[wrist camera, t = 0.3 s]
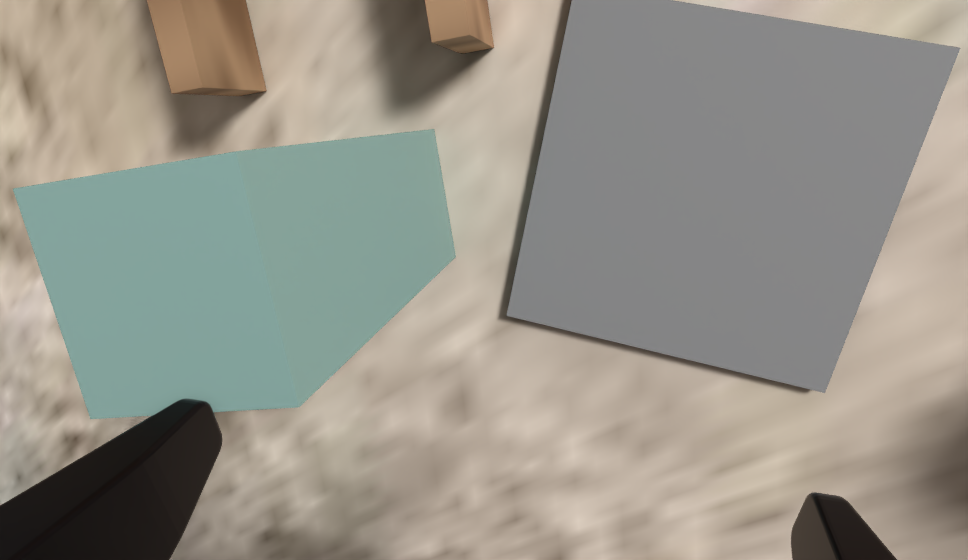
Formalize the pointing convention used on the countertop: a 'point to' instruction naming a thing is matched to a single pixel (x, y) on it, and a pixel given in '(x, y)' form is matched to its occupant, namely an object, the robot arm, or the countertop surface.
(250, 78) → the chute
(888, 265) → the countertop surface
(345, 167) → the block
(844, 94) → the mat
